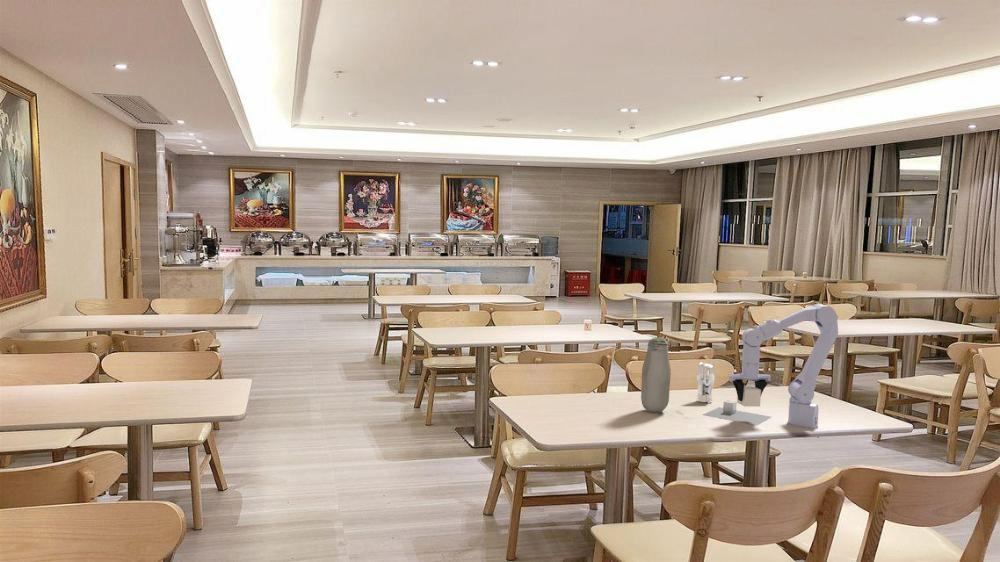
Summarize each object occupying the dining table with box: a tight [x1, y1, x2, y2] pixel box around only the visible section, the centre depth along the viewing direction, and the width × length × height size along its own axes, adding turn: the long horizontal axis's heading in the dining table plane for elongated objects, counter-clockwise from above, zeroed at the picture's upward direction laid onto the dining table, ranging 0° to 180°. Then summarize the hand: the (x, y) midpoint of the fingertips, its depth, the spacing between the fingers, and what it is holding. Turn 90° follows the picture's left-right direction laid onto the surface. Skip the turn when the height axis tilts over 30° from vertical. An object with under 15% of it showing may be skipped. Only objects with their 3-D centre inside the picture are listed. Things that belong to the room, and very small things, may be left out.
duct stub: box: [722, 399, 738, 414], centre depth 270 cm, size 4×4×5 cm
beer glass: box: [696, 362, 716, 403], centre depth 292 cm, size 7×7×15 cm
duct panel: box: [702, 406, 772, 426], centre depth 266 cm, size 20×16×1 cm
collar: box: [736, 385, 762, 407], centre depth 259 cm, size 6×6×6 cm
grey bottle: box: [640, 336, 672, 413], centre depth 272 cm, size 10×10×28 cm
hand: (748, 400), depth 259 cm, fingers closed on collar, 6 cm apart
